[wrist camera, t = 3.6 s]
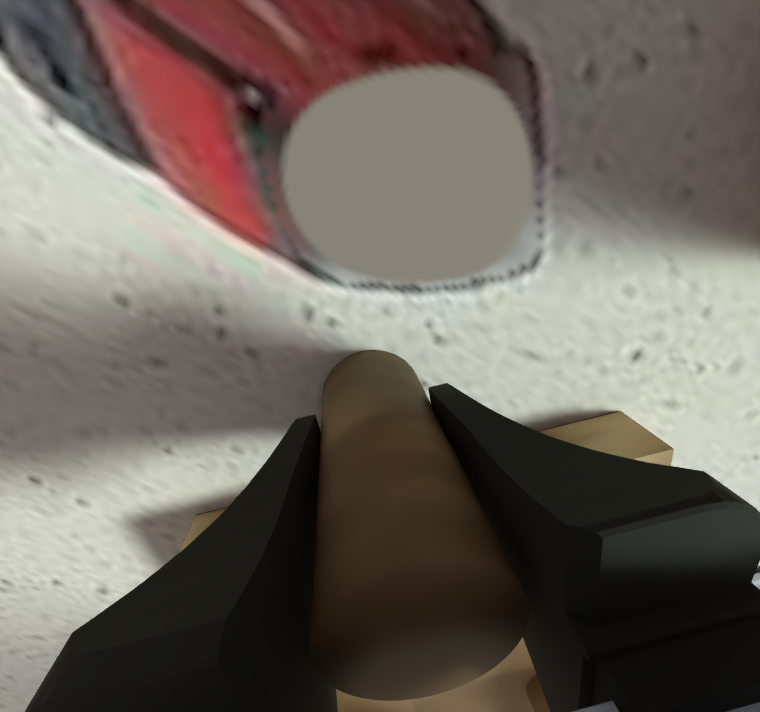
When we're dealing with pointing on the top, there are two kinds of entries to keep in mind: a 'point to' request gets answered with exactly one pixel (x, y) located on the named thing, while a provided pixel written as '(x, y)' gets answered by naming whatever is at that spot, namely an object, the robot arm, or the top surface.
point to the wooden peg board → (516, 672)
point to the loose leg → (402, 546)
